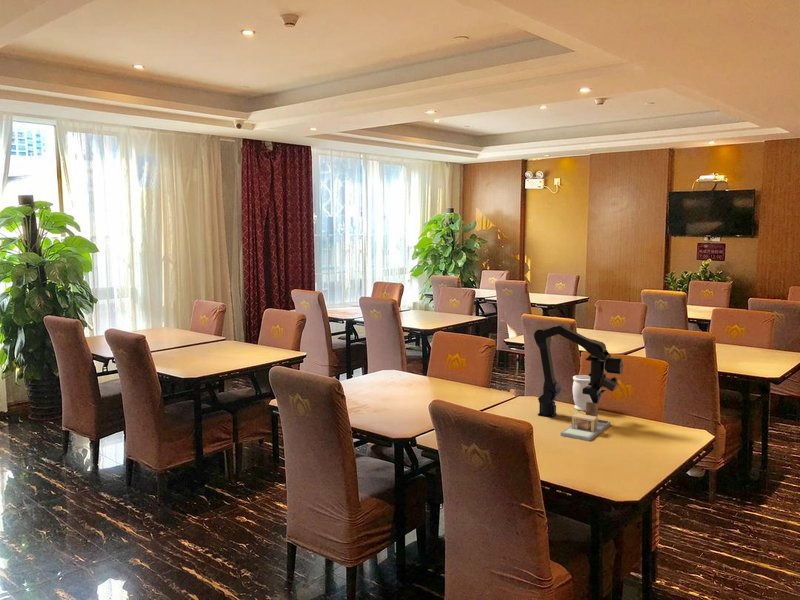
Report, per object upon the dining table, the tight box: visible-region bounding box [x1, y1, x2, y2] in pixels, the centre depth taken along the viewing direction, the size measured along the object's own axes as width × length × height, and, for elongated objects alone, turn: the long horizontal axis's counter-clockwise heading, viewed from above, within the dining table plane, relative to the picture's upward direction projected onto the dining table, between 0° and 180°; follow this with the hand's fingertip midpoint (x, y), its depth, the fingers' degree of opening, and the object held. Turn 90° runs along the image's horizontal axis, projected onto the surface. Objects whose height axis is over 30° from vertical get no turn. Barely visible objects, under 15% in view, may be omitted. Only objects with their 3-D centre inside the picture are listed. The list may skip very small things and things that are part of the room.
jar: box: [572, 374, 593, 412], centre depth 302 cm, size 11×10×15 cm
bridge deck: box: [560, 412, 611, 442], centre depth 272 cm, size 12×26×6 cm, turn 144°
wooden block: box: [577, 402, 599, 430], centre depth 273 cm, size 5×11×9 cm, turn 144°
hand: (596, 406), depth 281 cm, fingers closed
